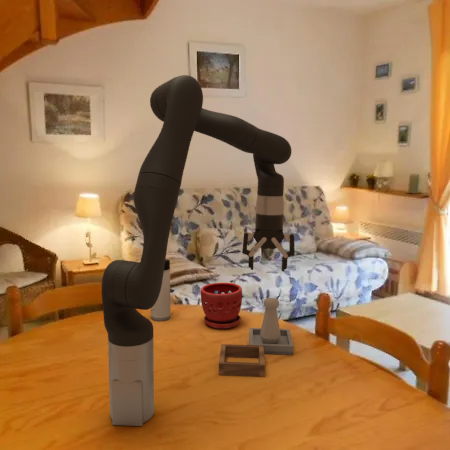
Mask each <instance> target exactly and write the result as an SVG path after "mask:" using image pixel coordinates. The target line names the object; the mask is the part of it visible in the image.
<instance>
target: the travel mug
mask: <svg viewBox="0 0 450 450" xmlns="http://www.w3.org/2000/svg"><path fill="white" fill-rule="evenodd" d="M170 265H171V260H170V259H167V258H166V259H165V266H164V274H163V280H162V286H161V290H160V294H159V297H158V299H157V301H156V303H155V305H154V306H153V307H152V308H150V318H151V319H152V320H154V321H157V322H163V321H168V320H169V319H170V318H171V266H170Z"/></svg>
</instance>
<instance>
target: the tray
mask: <svg viewBox="0 0 450 450" xmlns="http://www.w3.org/2000/svg"><path fill="white" fill-rule="evenodd" d="M248 328H249V330H248V331H249V336H248V337H249V344H248V345H259V346H263V347H264V355H279V356H280V355H285V356H286V355H287V356H294V342H293V338H292V333H291V329H290V328H280V334H281V335H280V339H279V341H278V343H277V344H264V343H263V342H262V339H261V337H260V332H261V327H248Z"/></svg>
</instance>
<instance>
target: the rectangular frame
mask: <svg viewBox="0 0 450 450" xmlns="http://www.w3.org/2000/svg"><path fill="white" fill-rule="evenodd" d="M227 357H228V358H229V357H230V358H252V359H253V358H256V359H258V362H249V361H248V362H247V361H245V362H244V361H226V358H227ZM265 363H266V361H265V354H264V347H263V346H259V345H249V344H228V343H226V344H225V343H221V344H220V353H219V361H218V376H238V377H240V376H243V377H265V375H266V374H265V373H266V371H265V370H266V364H265Z"/></svg>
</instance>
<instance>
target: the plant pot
mask: <svg viewBox="0 0 450 450" xmlns="http://www.w3.org/2000/svg"><path fill="white" fill-rule="evenodd" d="M215 292H217V293H215ZM229 292H230V293H229ZM242 301H243V287H241V285H239V284H236V283H232V282H213V283H208V284H206V285H204V286H202V287H201V288H200V302H201V308H202V311H203V313H204V315H205V316H204V317H203V318H204V319H203V320H204V322H205V324H206V325H208V326H209V327H212V328H214V329H229V328H233V327H236V326H238V325H239V323H240V322H241V319H242V318H241V316H240V315H239V314H240V312H241V309H242Z"/></svg>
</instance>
